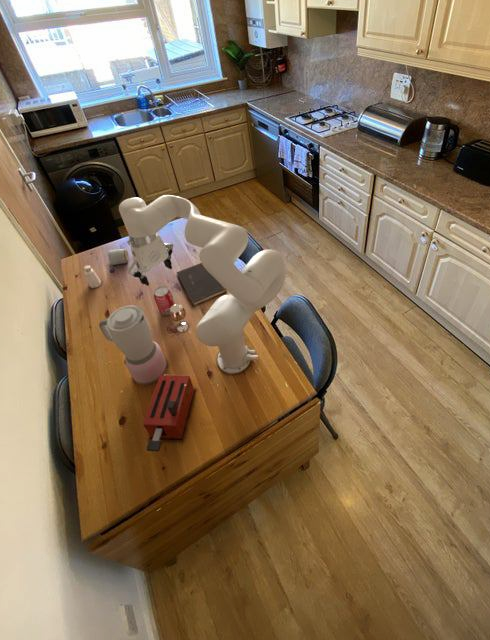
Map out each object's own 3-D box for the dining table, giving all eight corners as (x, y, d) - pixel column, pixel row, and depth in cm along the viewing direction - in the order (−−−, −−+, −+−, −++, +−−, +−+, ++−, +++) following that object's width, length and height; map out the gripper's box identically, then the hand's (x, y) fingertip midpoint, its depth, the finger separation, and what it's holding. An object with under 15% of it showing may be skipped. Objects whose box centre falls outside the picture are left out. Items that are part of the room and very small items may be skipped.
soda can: (169, 301, 154) (163, 282, 146) (179, 308, 150) (173, 289, 143) (156, 311, 150) (149, 292, 142) (166, 319, 146) (159, 300, 138)
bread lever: (165, 429, 103) (164, 428, 102) (159, 451, 98) (158, 449, 97) (153, 429, 103) (152, 427, 102) (146, 451, 98) (145, 449, 98)
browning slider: (177, 408, 106) (174, 400, 103) (175, 414, 104) (172, 407, 101) (172, 407, 106) (169, 400, 103) (170, 414, 104) (167, 407, 101)
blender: (172, 356, 131) (149, 300, 112) (162, 387, 122) (135, 331, 102) (131, 356, 132) (102, 300, 112) (118, 386, 123) (84, 330, 103)
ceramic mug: (129, 264, 174) (124, 253, 169) (112, 268, 172) (106, 256, 167) (130, 252, 182) (125, 240, 177) (113, 255, 180) (108, 244, 175)
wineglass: (192, 326, 142) (186, 307, 135) (180, 335, 139) (173, 316, 132) (184, 319, 145) (178, 300, 138) (172, 327, 142) (165, 308, 135)
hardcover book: (193, 306, 151) (192, 303, 150) (177, 275, 167) (176, 272, 165) (226, 292, 157) (226, 288, 156) (208, 263, 173) (207, 260, 172)
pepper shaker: (102, 285, 163) (94, 268, 156) (90, 289, 161) (81, 272, 154) (100, 278, 167) (91, 261, 160) (88, 283, 164) (79, 266, 157)
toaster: (195, 390, 121) (189, 374, 114) (182, 440, 108) (175, 426, 102) (166, 389, 121) (159, 373, 115) (150, 439, 108) (141, 424, 102)
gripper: (125, 255, 100) (143, 295, 110) (172, 226, 111) (184, 265, 121) (111, 246, 103) (129, 286, 114) (158, 218, 114) (170, 257, 125)
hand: (157, 275), depth 118 cm, fingers open, 9 cm apart
